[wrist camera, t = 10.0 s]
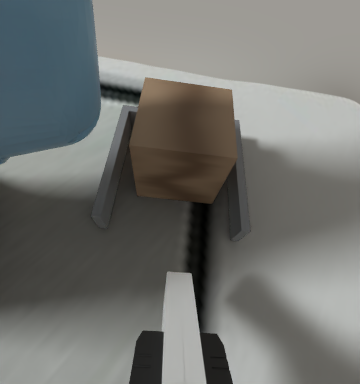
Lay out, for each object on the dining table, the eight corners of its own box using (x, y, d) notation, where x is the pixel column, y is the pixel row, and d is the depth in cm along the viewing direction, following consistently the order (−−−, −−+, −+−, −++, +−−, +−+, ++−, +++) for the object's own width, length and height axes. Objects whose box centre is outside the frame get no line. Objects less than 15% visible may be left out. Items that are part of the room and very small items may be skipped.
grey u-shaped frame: (99, 227, 20) (90, 215, 17) (126, 124, 26) (123, 105, 24) (238, 240, 21) (250, 231, 18) (230, 138, 27) (239, 120, 25)
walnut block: (137, 196, 22) (128, 145, 15) (147, 139, 26) (145, 77, 19) (211, 204, 22) (237, 158, 15) (211, 147, 26) (231, 89, 19)
